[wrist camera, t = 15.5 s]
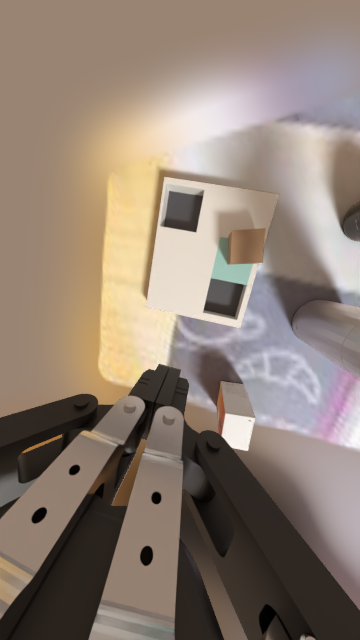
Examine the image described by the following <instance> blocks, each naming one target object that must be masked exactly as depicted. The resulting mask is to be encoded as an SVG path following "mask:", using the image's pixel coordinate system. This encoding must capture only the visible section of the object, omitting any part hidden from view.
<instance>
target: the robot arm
mask: <svg viewBox="0 0 360 640" xmlns="http://www.w3.org/2000/svg"><path fill="white" fill-rule="evenodd" d="M292 328H293V331H294V333H295V335H296V336H297V337H298V338H299V339H301V340H302V341H303V342H305V343H306V344H308V345H309V346H311V347H312V348H314V349H315V350H317V351H318V352H319V353H321V354H322V355H324V356H325V357H327V358H328V359H330V360H331V361H333V362H334V363H336V364H337V365H339V366H340V367H342V368H343V369H345V370H346V371H348V372H349V373H350V374H352V375H354V376H355V377H357V378H358V379H360V307H356V306H351V305H346V304H341V303H337V302H332V301H327V300H314V301H310V302H308V303H306V304H304V305H303V306H301V307H300V308H299V309H298V310H297V312H296V313H295V315H294V317H293V320H292ZM169 368H170V369H169ZM180 371H181V370H180V369H176V368H173V367H169V366H165V365H161V364H159V365H158V367H157V368H156V370H155V371H154V370H151V369H149V370H147V371H145V372H144V373H143V374H142V376H141V377H140V379H139V380H138V382H137V383H136V384H135V386H134V387H133V389H132V390H131V392H130V394H129V395H128V396H126V397H123V398H121V399H119V400H118V401H117V402H116V403H115V404H114V405H98V400H97V398H96V397H95V396H93V395H90V394H79V395H75V396H72V397H69V398H66V399H62V400H59V401H55V402H52V403H48V404H45V405H42V406H38V407H35V408H32V409H29V410H25V411H22V412H18V413H15V414H11V415H8V416H5V417H1V418H0V640H224V638H223V635H222V633H221V630H220V627H219V624H218V621H217V619H216V616H215V613H214V610H213V608H212V605H211V602H210V599H209V596H208V594H207V591H206V588H205V586H204V582H203V580H202V577H201V574H200V572H199V569H198V567H197V565H196V563H195V560H194V558H193V556H192V555H191V553H190V551H189V550H188V548H187V546H186V545H185V544H184V543H183V541H182V540H181V539H180V538H179V532H180V514H181V496H182V488H183V491H184V496H185V498H186V501H187V503H188V505H189V507H190V510H191V512H192V514H193V517H194V519H195V521H196V523H197V526H198V528H199V530H200V532H201V534H202V537H203V539H204V541H205V544H206V546H207V548H208V550H209V553H210V555H211V557H212V559H213V562H214V564H215V566H216V568H217V571H218V573H219V575H220V577H221V580H222V582H223V584H224V587H225V589H226V591H227V593H228V595H229V598H230V600H231V602H232V605H233V607H234V609H235V611H236V614H237V616H238V618H239V620H240V623H241V625H242V627H243V629H244V632H245V634H246V636H247V638H248V640H360V610H359V609H358V608H357V606H356V605H355V604H354V603H353V601H352V600H351V599H350V598H349V596H348V595H347V594H346V593H345V591H344V590H343V589H342V587H341V586H340V585H339V584H338V582H337V581H336V580H335V579H334V577H333V576H332V575H331V573H330V572H329V571H328V570H327V568H326V567H325V566H324V565H323V563H322V562H321V561H320V560H319V558H318V557H317V556H316V554H315V553H314V552H313V551H312V549H311V548H310V547H309V546H308V544H307V543H306V542H305V541H304V539H303V538H302V537H301V535H300V534H299V533H298V532H297V530H296V529H295V528H294V527H293V525H292V524H291V523H290V521H289V520H288V519H287V518H286V516H285V515H284V514H283V513H282V511H281V510H280V509H279V508H278V506H277V505H276V504H275V503H274V501H273V500H272V499H271V497H270V496H269V495H268V494H267V492H266V491H265V490H264V489H263V487H262V486H261V485H260V483H259V482H258V481H257V480H256V478H255V477H254V476H253V475H252V473H251V472H250V471H249V469H248V468H247V467H246V466H245V464H244V463H243V462H242V461H241V459H240V458H239V457H238V456H237V454H236V453H235V452H234V450H232V448H231V447H230V445H229V444H228V443H227V441H226V440H225V439H224V438H223V437H222V436H221V435H220V434H218V433H216V432H214V431H210V430H207V431H203V432H201V433H200V434H199V433H197V432H196V431H194V430H193V429H191V428H190V427H189V426H188V425H187V423H186V421H185V419H184V411H185V406H186V400H187V394H188V388H189V383H188V381H187V379H184V378H180V377H179V376H180ZM61 434H62V438H60V439H57V440H55V441H52V442H50V443H48V444H45V445H43V446H40V447H38V448H36V449H33V450H31V451H28V452H26V453H22V452H23V451H24V450H26V449H27V448H29V447H32V446H34V445H36V444H39V443H41V442H44V441H46V440H49V439H51V438H53V437H56V436H58V435H61ZM148 435H149V437H148ZM147 438H148V441H147V444H146V448H145V451H144V452H143V455H142V459H141V462H140V466H139V469H138V472H137V476H136V479H135V483H134V486H133V490H132V493H131V497H130V500H129V504H128V506H112V503H113V501H114V498H115V496H116V493H117V491H118V489H119V487H120V485H121V483H122V481H123V479H124V477H125V475H126V473H127V471H128V469H129V467H130V465H131V462H132V461H133V459H134V457H135V455H136V452H137V448H138V446H139V444H140V442H141V439H145V440H147Z"/></svg>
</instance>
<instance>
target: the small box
mask: <svg viewBox="0 0 360 640" xmlns="http://www.w3.org/2000/svg"><path fill="white" fill-rule="evenodd" d="M217 418H218V431H219V434H220V435H221V436H222V437H223V438H224V439H225V440H226V441H227V443H228V444H229V445H230V447H231V448H236V449H241V450H246V451H248V448H249V443H250V438H251V433H252V429H253V425H254V422H255V419H256V418H255V415H254V412H253V409H252V406H251V403H250V400H249V397H248V395H247V392H246V389H245V386H244V384H239V383H232V382H225V381H221V382H220V390H219V396H218V402H217Z"/></svg>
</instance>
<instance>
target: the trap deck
mask: <svg viewBox="0 0 360 640" xmlns="http://www.w3.org/2000/svg"><path fill="white" fill-rule="evenodd" d="M278 197H279V194H275V193H269V192H262V191H255V190H249V189H242V188H235V187H229V186H222V185H215V184H209V183H202V182H196V181H189V180H182V179H176V178H169V177H164V183H163V190H162V197H161V204H160V211H159V218H158V225H157V232H156V239H155V247H154V254H153V261H152V268H151V275H150V282H149V289H148V296H147V303H146V307H147V308H151V309H156V310H160V311H165V312H169V313H174V314H179V315H183V316H188V317H192V318H197V319H201V320H206V321H210V322H215V323H219V324H224V325H228V326H233V327H238V328H240V327H241V323H242V320H243V316H244V313H245V310H246V306H247V303H248V299H249V296H250V293H251V289H252V285H253V282H254V279H255V275H256V272H257V268H258V265H259V263H256V264H232V265H228V239H229V234H230V233H231V231H232V230H245V229H260V228H265V240H264V245H265V242H266V238H267V235H268V231H269V228H270V225H271V221H272V218H273V214H274V211H275V208H276V204H277V201H278Z"/></svg>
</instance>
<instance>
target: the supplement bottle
mask: <svg viewBox="0 0 360 640" xmlns="http://www.w3.org/2000/svg"><path fill="white" fill-rule="evenodd" d="M343 229H344V232H345V234H346V236H347V237H348V238H350V239H351V240H354V241H360V202H359V203H357V204H356V205H354V206H353V207H352V208H351V209H350V210H349V211H348V213H347V215H346V216H345V219H344V223H343Z"/></svg>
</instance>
